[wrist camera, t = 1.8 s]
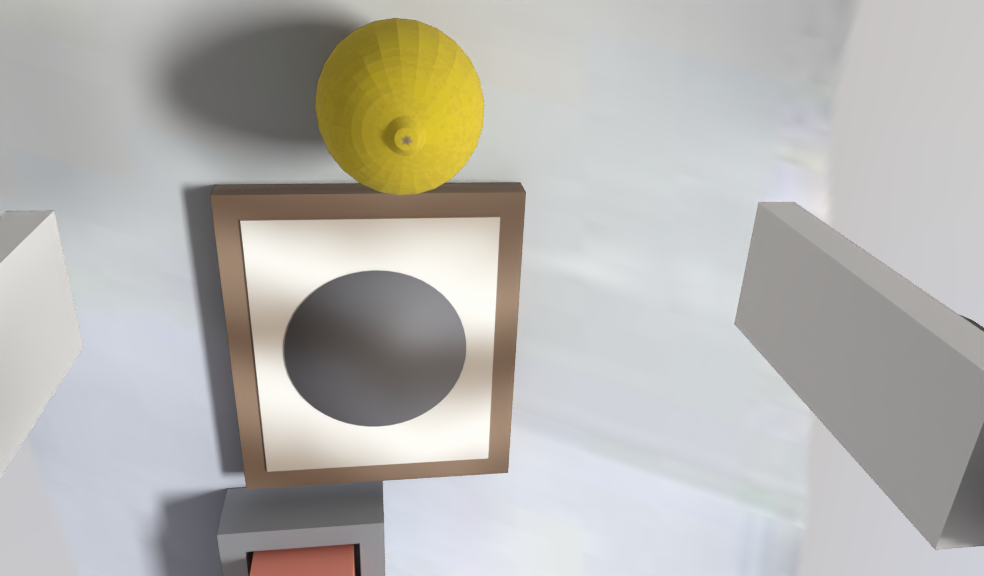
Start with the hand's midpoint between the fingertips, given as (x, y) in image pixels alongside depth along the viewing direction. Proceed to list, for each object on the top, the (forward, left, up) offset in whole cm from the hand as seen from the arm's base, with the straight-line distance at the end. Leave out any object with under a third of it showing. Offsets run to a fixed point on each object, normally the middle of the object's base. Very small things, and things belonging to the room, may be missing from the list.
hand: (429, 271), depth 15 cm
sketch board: (+11, -1, -17) cm, 20 cm away
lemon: (0, 0, -17) cm, 17 cm away
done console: (+22, -5, -17) cm, 28 cm away
